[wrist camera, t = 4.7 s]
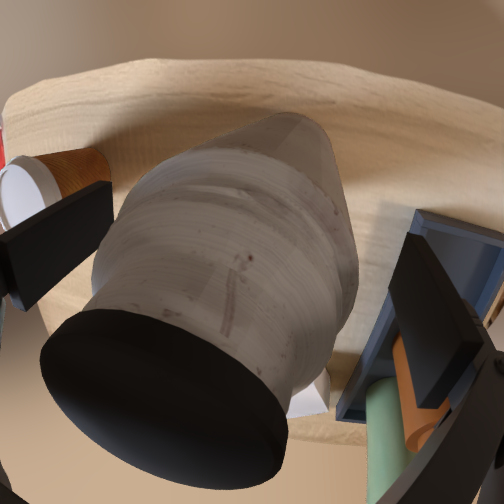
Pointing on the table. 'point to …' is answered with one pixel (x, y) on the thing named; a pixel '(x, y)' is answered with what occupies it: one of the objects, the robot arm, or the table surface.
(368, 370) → the tray
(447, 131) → the table surface
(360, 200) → the table surface
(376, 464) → the green bottle
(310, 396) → the white cube
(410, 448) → the amber bottle
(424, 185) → the table surface
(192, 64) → the table surface
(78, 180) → the disposable coffee cup
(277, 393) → the thermos bottle
